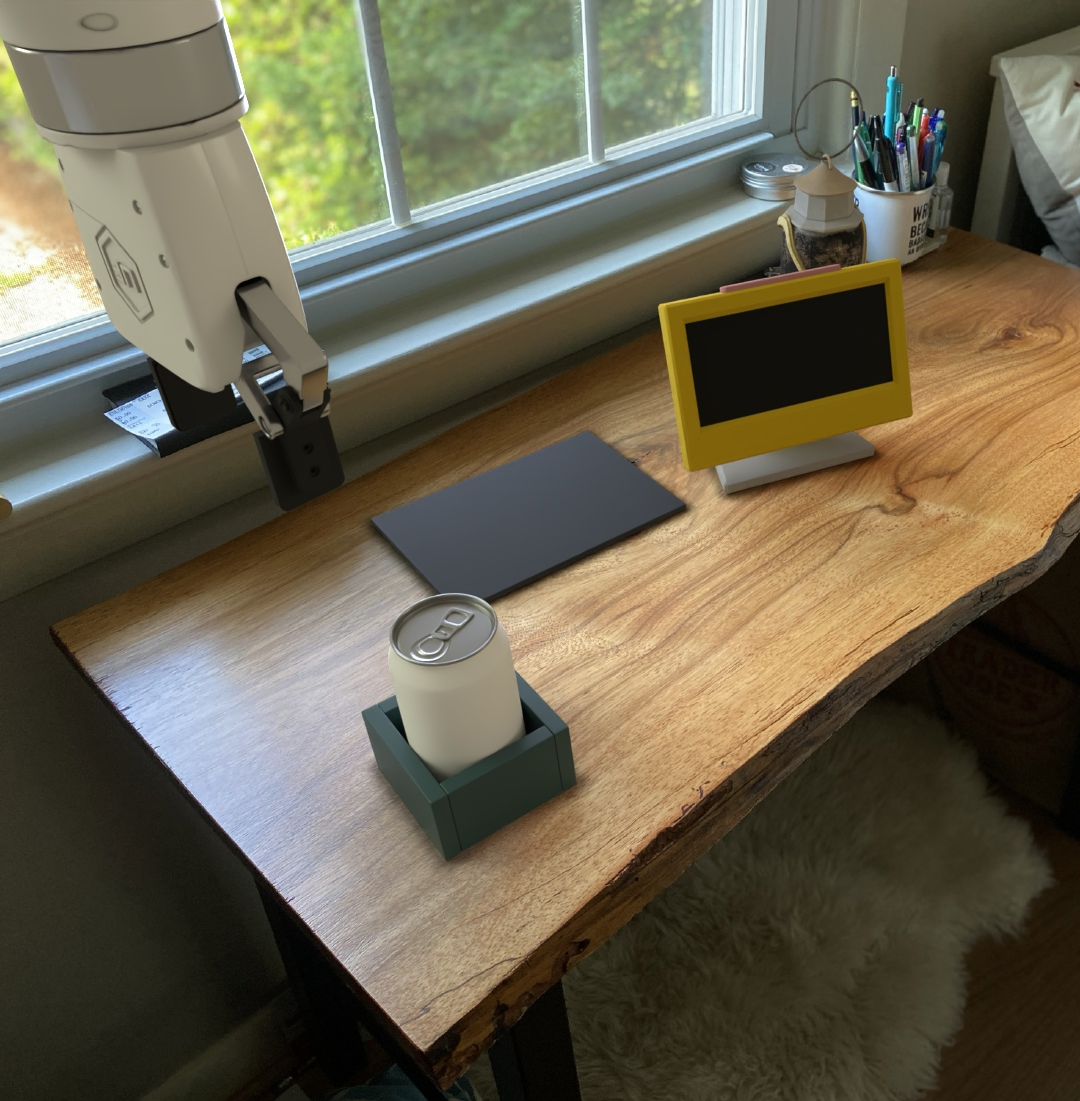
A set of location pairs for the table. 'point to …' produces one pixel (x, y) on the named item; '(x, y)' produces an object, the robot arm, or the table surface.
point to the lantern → (823, 214)
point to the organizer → (476, 775)
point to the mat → (526, 518)
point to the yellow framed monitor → (787, 371)
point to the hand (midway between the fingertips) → (256, 455)
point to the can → (454, 682)
